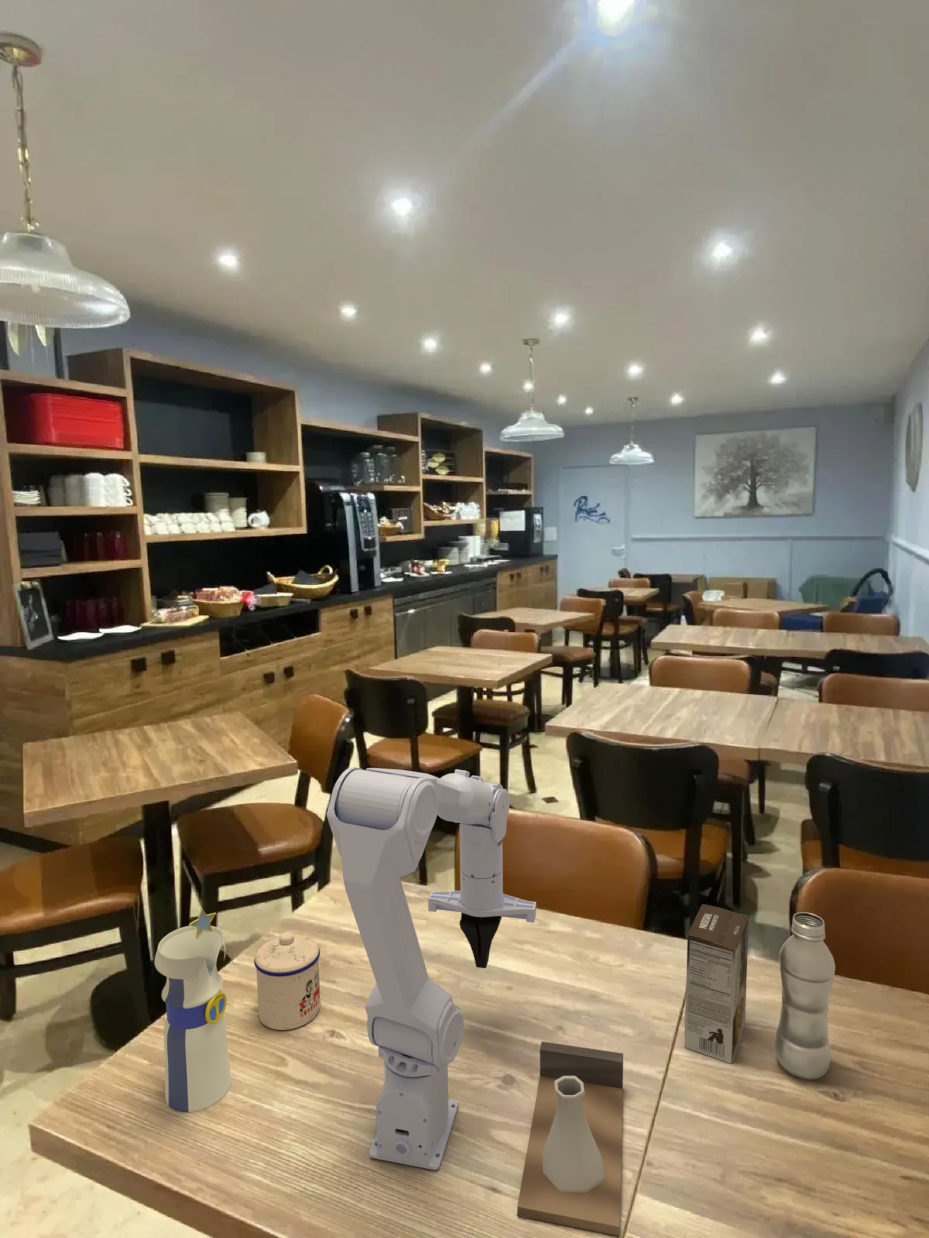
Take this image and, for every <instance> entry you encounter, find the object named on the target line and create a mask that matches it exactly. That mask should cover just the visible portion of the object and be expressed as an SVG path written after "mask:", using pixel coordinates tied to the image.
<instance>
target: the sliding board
mask: <svg viewBox="0 0 929 1238" xmlns="http://www.w3.org/2000/svg"><path fill="white" fill-rule="evenodd" d="M540 1042H541V1043H540V1047H539V1048H540V1049H539V1079H538V1086H537V1089H536V1090H537V1092H536V1095H535V1102H534V1109H533V1112H532V1119H531V1126H530V1129H529V1130H530V1131H529V1137H528V1144H527V1149H526V1154H525V1161H524V1165H523V1170H522V1171H523V1172H522V1178H521V1182H520V1189H519V1194H518V1200H517V1209H516V1210H517V1211H516V1212H517V1213H516V1214H517V1217H523V1218H527V1219H534V1220H536V1221H537V1220H538V1221H543V1222H548V1223H552V1224H559V1225H563V1226H567V1227H571V1228H572V1227H573V1228H577V1229H582V1230H587V1231H591V1232H597V1233H601V1234H606V1235H607V1234H608V1235H611V1236H616V1237H620V1236H621V1235H620V1233H621V1232H620V1231H621V1190H622V1189H621V1184H622V1183H621V1182H622V1181H621V1180H622V1139H623V1137H622V1136H623V1134H622V1133H623V1099H624V1098H623V1096H624V1095H623V1093H624V1092H623V1091H624V1090H623V1087H624V1086H623V1085H624V1053H623V1052H617V1051H610V1050H603V1049H598V1048H597V1049H596V1048H589V1047H582V1046H576V1045H575V1046H574V1045H569V1044H561V1043H555V1042H547V1041H540ZM562 1076H576V1077H577V1078H578V1079H580V1080H581V1081H582V1082H583V1084H584V1091H585V1094H584V1096H583V1097H582V1105H583V1110H584V1114H585V1118H586V1120H587V1123H588V1125H589V1128H590V1130H591V1133H592V1135H593V1138H594V1140H595V1142H596V1145H597V1147H598V1149H599V1151H600V1154H601V1156H602V1160H603V1166H604V1172H605V1179H606V1180H605V1181H603V1182H602V1183H600V1184H599V1185H597V1186H596V1187H594V1188H593V1189H591V1190H590V1191H588V1192H587V1193H577V1192H559V1190H558V1189H557V1188H556V1187H555V1186H554V1185H553V1183H552V1182H551V1181H550V1180H549V1179H548V1178H547V1176H546V1175H545V1174H544V1173H543V1159H542V1150H543V1148H544V1145H545V1143H546V1140H547V1138H548V1135H549V1132H550V1129H551V1126H552V1123H553V1120H554V1117H555V1114H556V1108H557V1101H558V1096H557V1095H556V1093H555V1085H554V1081H555V1080H557V1079H559V1078H560V1077H562Z"/></svg>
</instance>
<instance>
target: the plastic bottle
mask: <svg viewBox="0 0 929 1238" xmlns="http://www.w3.org/2000/svg"><path fill="white" fill-rule="evenodd" d="M825 924H826V923H825V921H824V919H823V918H822V917H821V916H819V915H817V914H815V913H811V912H806V911H802V912H801V911H799V912H798V911H797V912H796V913H794V914H793V915H792V924H791V928H790V929H791V933H792V935H791V936H789V937H788V938H787V939H786V941H784V943H782V946H781V948H780V950H779V954H778V957H779V958H778V959H779V970H780V971H779V972H780V979H781V1008H780V1016H779V1022H778V1026H777V1030H776V1033H775V1038H774V1049H775V1055H776V1058H777V1060H778V1061H779V1063H780V1065H781V1066H782V1068H784V1070H785V1071H786V1072H788V1073H789V1074H791V1075H792V1076H794V1077H796V1078H799V1079H803V1080H809V1081H811V1080H812V1081H813V1080H818V1079H820V1078H822V1077H823V1076H825V1074H827V1072H828V1070H829V1067H830V1064H831V1058H832V1056H831V1046H830V1041H829V1027H828V1025H829V1022H828V1012H829V1003H830V995H831V991H832V990H831V989H832V987H833V982H834V981H833V980H834V978H835V974H836V973H835V971H836V963H835V959H834V956H833V954H832V953H831V951H830V949H829V947H828V946H827V944H826V943H825V942H824V940H825V939H826V930H825V928H826V927H825V926H826V925H825Z"/></svg>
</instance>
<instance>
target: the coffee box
mask: <svg viewBox="0 0 929 1238" xmlns="http://www.w3.org/2000/svg"><path fill="white" fill-rule="evenodd" d="M686 939H687V941H686V943H687V945H686V946H687V947H686V948H687V949H686V978H685V979H686V981H685V985H686V987H685V1009H684V1010H685V1011H684V1012H685V1013H684V1015H685V1016H684V1047H685V1048H686V1049H688V1050H691V1051H694V1052H698V1053H699V1054H702V1055H706V1056H709V1057H710V1058H714V1059H717V1060H719V1061H722V1062H725V1063H728V1064H733V1063H734V1060H735V1057H736V1054H737V1051H738V1048H739V1044H740V1041H741V1038H742V1034H743V1032H744V1029H745V1025H746V1013H747V1011H746V1007H747V1004H746V1003H747V981H748V980H747V976H748V975H747V974H748V949H749V948H748V947H749V945H748V943H749V942H748V941H749V915H747V914H743V913H738V912H733V911H732V910H729V909H726V908H723V907H718V906H713V905H709V904H704V903H703V904H701V905H700V908H699V910H698V912H697V914H696V915H695V918H694V919H693V922H692V925H691V927H690V928H689V931H688V932H687V938H686Z"/></svg>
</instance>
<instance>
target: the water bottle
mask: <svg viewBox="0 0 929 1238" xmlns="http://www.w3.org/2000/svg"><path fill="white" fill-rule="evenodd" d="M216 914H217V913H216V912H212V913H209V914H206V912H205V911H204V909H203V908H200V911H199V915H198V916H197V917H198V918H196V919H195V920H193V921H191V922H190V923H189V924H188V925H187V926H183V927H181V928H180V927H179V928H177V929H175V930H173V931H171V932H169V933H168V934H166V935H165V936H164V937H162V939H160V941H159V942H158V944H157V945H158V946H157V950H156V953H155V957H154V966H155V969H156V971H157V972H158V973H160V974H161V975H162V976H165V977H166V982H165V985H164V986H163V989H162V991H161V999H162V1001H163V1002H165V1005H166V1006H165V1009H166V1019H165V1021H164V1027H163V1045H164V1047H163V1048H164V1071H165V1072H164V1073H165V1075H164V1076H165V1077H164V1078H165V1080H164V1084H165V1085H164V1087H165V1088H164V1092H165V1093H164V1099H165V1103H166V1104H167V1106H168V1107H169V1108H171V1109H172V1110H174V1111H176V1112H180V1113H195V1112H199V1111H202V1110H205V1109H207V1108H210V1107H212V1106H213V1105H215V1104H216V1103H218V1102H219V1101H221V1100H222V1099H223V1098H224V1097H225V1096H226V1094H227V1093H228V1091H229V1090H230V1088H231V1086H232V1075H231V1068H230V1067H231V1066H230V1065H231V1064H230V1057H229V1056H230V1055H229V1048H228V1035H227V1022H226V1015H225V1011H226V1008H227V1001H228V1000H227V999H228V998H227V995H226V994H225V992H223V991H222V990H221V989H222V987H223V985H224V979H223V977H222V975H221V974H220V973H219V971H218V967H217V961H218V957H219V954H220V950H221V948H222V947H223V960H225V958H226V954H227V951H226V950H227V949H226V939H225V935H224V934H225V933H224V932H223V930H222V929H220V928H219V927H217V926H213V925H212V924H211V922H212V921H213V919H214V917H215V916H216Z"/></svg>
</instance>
